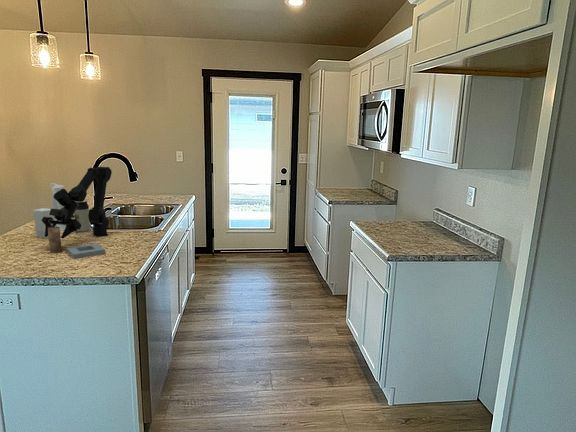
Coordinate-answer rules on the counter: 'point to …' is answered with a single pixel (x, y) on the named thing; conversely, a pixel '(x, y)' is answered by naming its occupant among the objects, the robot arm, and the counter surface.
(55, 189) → the skyscraper
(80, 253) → the frame
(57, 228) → the walnut peg
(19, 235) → the counter surface
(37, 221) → the skincare box
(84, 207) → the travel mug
